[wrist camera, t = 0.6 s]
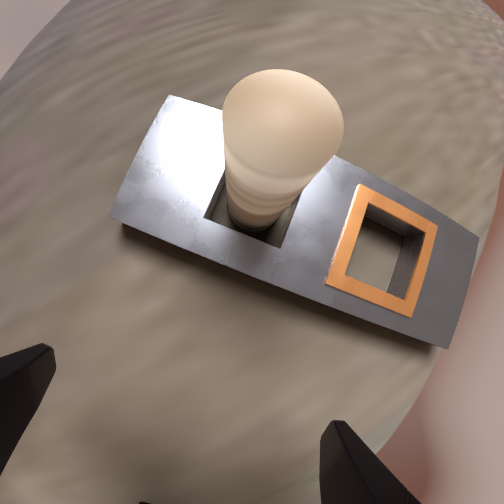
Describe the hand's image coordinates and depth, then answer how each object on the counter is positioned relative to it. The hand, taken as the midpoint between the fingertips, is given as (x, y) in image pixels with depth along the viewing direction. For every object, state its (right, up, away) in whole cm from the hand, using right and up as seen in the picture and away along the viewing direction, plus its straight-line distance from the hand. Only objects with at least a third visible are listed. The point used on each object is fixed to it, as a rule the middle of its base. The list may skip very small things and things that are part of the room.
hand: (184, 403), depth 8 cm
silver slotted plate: (+7, +6, +15) cm, 18 cm away
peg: (+2, +8, +15) cm, 17 cm away
